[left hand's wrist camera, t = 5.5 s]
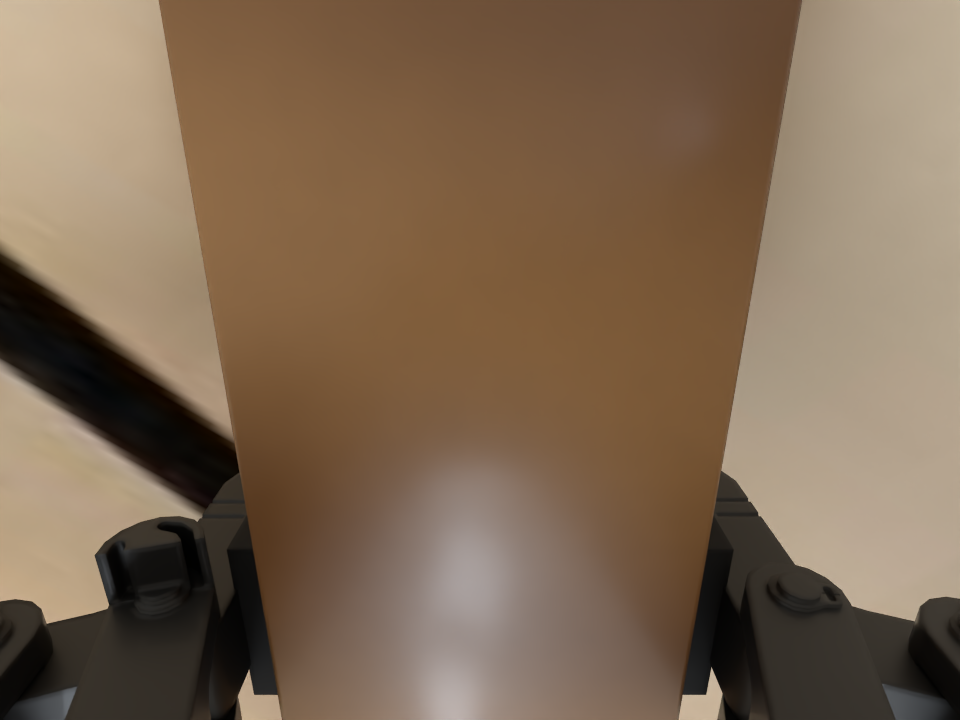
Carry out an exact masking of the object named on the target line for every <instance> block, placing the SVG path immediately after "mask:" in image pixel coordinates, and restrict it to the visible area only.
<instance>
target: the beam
mask: <svg viewBox="0 0 960 720" xmlns="http://www.w3.org/2000/svg"><path fill="white" fill-rule="evenodd" d="M801 3H802V0H159V4H160V10H161V16H162V22H163V28H164V34H165V39H166V45H167V51H168V57H169V63H170V68H171V74H172V80H173V86H174V92H175V98H176V103H177V109H178V115H179V121H180V127H181V133H182V138H183V144H184V150H185V156H186V162H187V168H188V173H189V179H190V185H191V191H192V197H193V203H194V208H195V214H196V220H197V226H198V232H199V238H200V243H201V249H202V255H203V261H204V267H205V273H206V278H207V284H208V290H209V296H210V302H211V308H212V313H213V319H214V325H215V331H216V337H217V343H218V348H219V354H220V360H221V366H222V372H223V378H224V383H225V389H226V395H227V401H228V407H229V413H230V418H231V424H232V430H233V436H234V442H235V448H236V453H237V459H238V465H239V471H240V477H241V483H242V488H243V494H244V500H245V506H246V512H247V517H248V523H249V529H250V535H251V541H252V547H253V552H254V558H255V564H256V570H257V576H258V582H259V587H260V593H261V599H262V605H263V611H264V617H265V622H266V628H267V634H268V640H269V646H270V652H271V657H272V663H273V669H274V675H275V681H276V687H277V692H278V698H279V704H280V710H281V716H282V720H678V718H679V712H680V706H681V701H682V695H683V689H684V683H685V677H686V671H687V666H688V660H689V654H690V648H691V642H692V637H693V631H694V625H695V619H696V613H697V608H698V602H699V596H700V590H701V584H702V579H703V573H704V567H705V561H706V555H707V549H708V544H709V538H710V532H711V526H712V520H713V515H714V509H715V503H716V497H717V491H718V486H719V480H720V474H721V468H722V462H723V457H724V451H725V445H726V439H727V433H728V427H729V422H730V416H731V410H732V404H733V398H734V393H735V387H736V381H737V375H738V369H739V364H740V358H741V352H742V346H743V340H744V335H745V329H746V323H747V317H748V311H749V306H750V300H751V294H752V288H753V282H754V276H755V271H756V265H757V259H758V253H759V247H760V242H761V236H762V230H763V224H764V218H765V213H766V207H767V201H768V195H769V189H770V184H771V178H772V172H773V166H774V160H775V154H776V149H777V143H778V137H779V131H780V125H781V120H782V114H783V108H784V102H785V96H786V91H787V85H788V79H789V73H790V67H791V62H792V56H793V50H794V44H795V38H796V32H797V27H798V21H799V15H800V9H801Z"/></svg>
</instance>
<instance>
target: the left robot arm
mask: <svg viewBox="0 0 960 720" xmlns="http://www.w3.org/2000/svg"><path fill="white" fill-rule="evenodd" d="M95 558H96V561H97V565H98V568H99V572H100V575H101V578H102V582H103V585H104V589H105V592H106V596H107V599H108V602H109V607H108V609H106V610H103V611H99V612H96V613H92V614H88V615H84V616H79V617H75V618H70V619H66V620H62V621H57V622H53V623H48V624H46V621H45V618H44V615H43V613H42V610H41V608H39V607H38V606H37V605H36V604H34V603H33V602H31V601H24V600H17V599H14V600H7V601H1V602H0V720H242V717H241V710H240V704H239V699H238V694H239V692H240V689H241V687H242V685H243V682H244V680H245V678H246V675H247V673H248V670H250V675H251V680H252V685H253V690H254V695H278V692H277V687H276V681H275V675H274V669H273V663H272V657H271V652H270V646H269V640H268V634H267V628H266V622H265V617H264V611H263V605H262V599H261V593H260V587H259V582H258V576H257V570H256V564H255V558H254V552H253V547H252V541H251V535H250V529H249V523H248V517H247V512H246V506H245V500H244V494H243V488H242V483H241V477H240V473H238V474H237V475H235V476H234V477H233V478H231V479H230V480H228V481H227V482H225V484H224V485H223V486H222V488H221V489H220V491H219V492H218V493H217V495H216V496H215V498H214V499H213V503H212V504H210V505H209V506H208V508H207V509H206V511H205V512H204V513H203V517H202V518H200V519H199V521H198V522H196V521H195V520H193V519H189V518H185V517H181V516H174V517H159V518H155V519H151V520H147V521H143V522H140V523H138V524H135V525H133V526H131V527H129V528H126V529H124V530H122V531H120V532H119V533H117V534H116V535H115V536H113V537H112V538H110V539H109V540H108V541H106V542H105V543H104V544H103V545H102V547H101V548H100V549H99V551H98V552H97V553H96V555H95ZM711 667H712V669H713V671H714V674H715V676H716V678H717V681H718V683H719V685H720V688H721V690H722V693H723V695H722V699H721V704H720V709H719V714H718V719H717V720H960V599H957V598H950V597H941V598H934V599H929V600H928V601H926V602H925V603H924V604H923V605H921V606H920V608H919V611H918V614H917V617H916V620H915V622H914V621H910V620H905V619H901V618H897V617H892V616H888V615H883V614H879V613H875V612H870V611H866V610H863V609H859V608H856V607H853V606H851V604H850V602H849V601H848V599H847V598H846V596H845V595H844V593H843V592H842V590H841V589H839V588H838V587H837V586H836V585H834V584H833V583H832V582H831V581H830V580H828V579H827V578H825V577H823V576H822V575H820V574H818V573H816V572H814V571H812V570H810V569H808V568H804V567H800V566H797V565H795V564H794V563H793V561H792V560H791V558H790V557H789V556H788V554H787V553H786V551H785V550H784V548H783V547H782V546H781V544H780V543H779V541H778V540H777V539H776V537H775V536H774V534H773V533H772V531H771V530H770V529H769V527H768V526H767V524H766V523H765V522H764V520H763V519H762V517H761V516H758V512H757V510H756V509H755V507H754V506H753V505H752V503H751V502H748V498H747V496H746V495H745V493H744V492H743V490H742V489H741V488H740V486H739V485H738V483H737V482H736V481H735V480H734V479H732V478H731V477H729V476H728V475H727V474H725V473H724V472H722V471H721V474H720V480H719V486H718V491H717V497H716V503H715V509H714V515H713V520H712V526H711V532H710V538H709V544H708V549H707V555H706V561H705V567H704V573H703V579H702V584H701V590H700V596H699V602H698V608H697V613H696V619H695V625H694V631H693V637H692V642H691V648H690V654H689V660H688V666H687V671H686V677H685V683H684V689H683V695H706V692H707V687H708V682H709V677H710V672H711Z"/></svg>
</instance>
